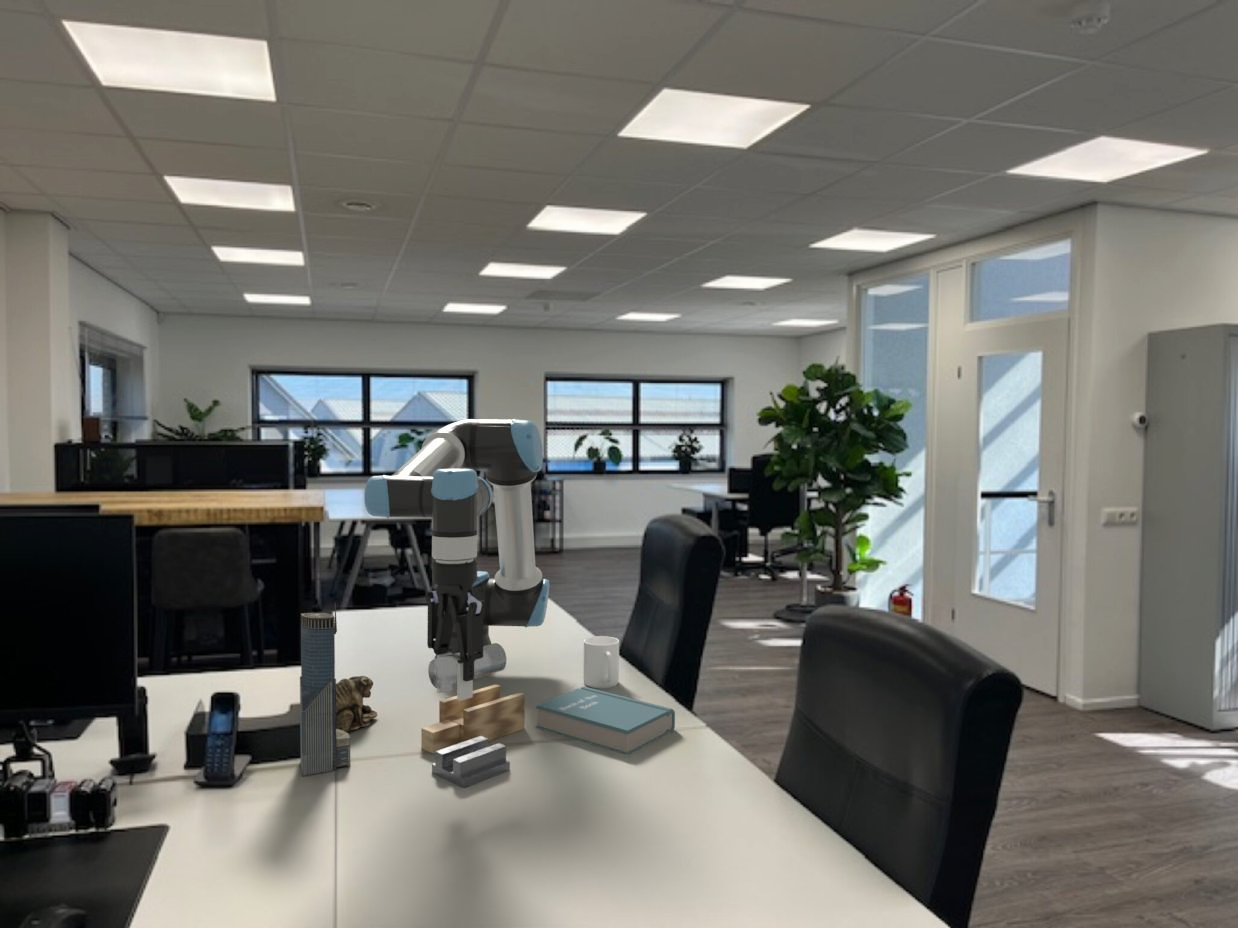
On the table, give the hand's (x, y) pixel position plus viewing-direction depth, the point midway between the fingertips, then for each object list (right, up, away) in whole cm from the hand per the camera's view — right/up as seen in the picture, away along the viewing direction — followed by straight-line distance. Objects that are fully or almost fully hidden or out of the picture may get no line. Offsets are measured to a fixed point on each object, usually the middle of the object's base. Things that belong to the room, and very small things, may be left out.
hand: (454, 694), depth 144 cm
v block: (+2, -14, +3) cm, 15 cm away
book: (+25, -14, +25) cm, 38 cm away
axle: (+2, +5, +2) cm, 5 cm away
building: (-25, -14, +5) cm, 29 cm away
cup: (+24, -12, +52) cm, 59 cm away
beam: (-1, -13, +20) cm, 24 cm away
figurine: (-26, -13, +23) cm, 37 cm away
